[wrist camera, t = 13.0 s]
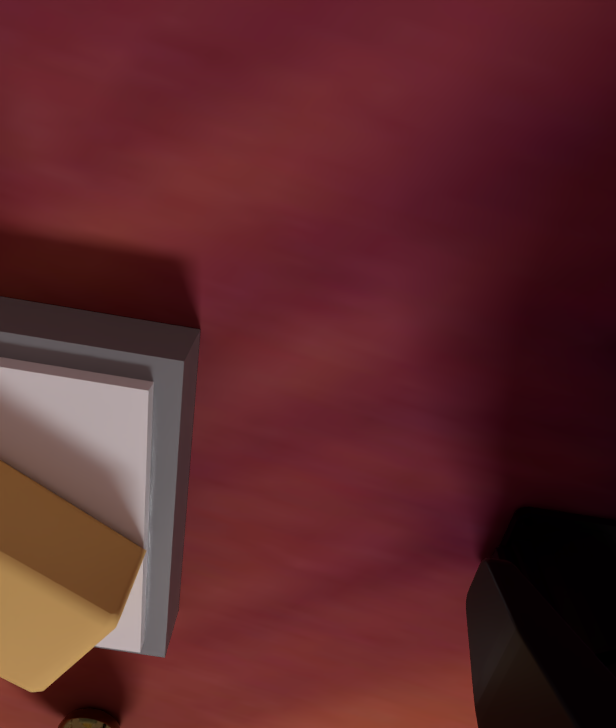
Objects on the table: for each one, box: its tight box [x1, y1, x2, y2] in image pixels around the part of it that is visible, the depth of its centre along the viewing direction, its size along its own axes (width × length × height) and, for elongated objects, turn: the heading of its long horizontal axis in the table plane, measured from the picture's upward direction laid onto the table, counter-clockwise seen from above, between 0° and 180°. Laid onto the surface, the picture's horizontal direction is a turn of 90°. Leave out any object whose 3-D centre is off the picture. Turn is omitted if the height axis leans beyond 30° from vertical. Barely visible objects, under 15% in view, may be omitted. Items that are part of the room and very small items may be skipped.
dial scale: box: [0, 296, 200, 657], centre depth 24 cm, size 14×16×3 cm
